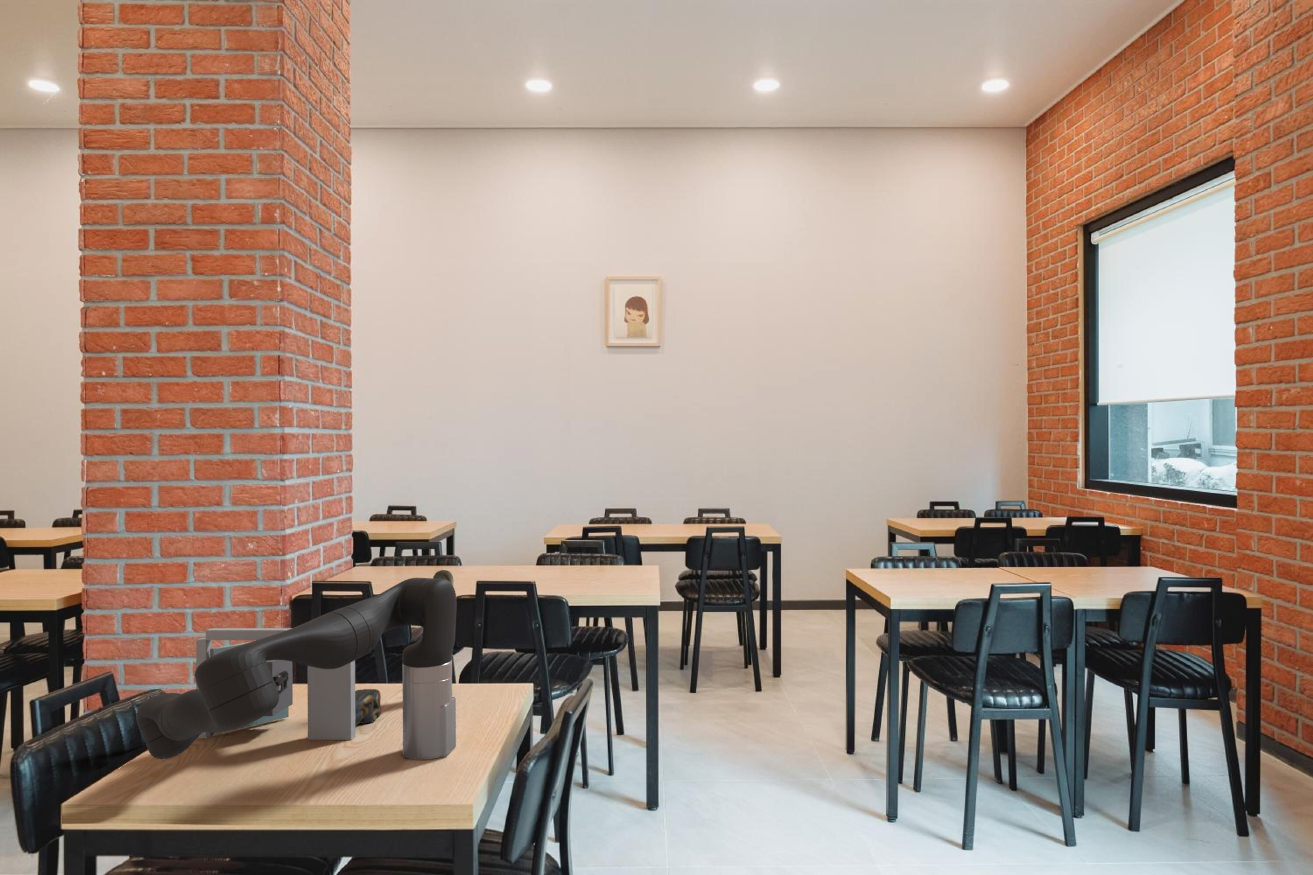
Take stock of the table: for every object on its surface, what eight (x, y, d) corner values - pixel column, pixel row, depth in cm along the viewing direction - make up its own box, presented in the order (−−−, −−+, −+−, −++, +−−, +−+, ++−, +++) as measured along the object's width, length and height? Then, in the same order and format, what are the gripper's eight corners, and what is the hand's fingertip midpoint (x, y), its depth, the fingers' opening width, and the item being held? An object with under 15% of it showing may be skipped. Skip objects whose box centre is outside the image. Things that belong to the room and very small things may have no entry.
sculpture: (361, 735, 165) (361, 701, 166) (329, 735, 165) (329, 701, 166) (383, 715, 178) (383, 683, 179) (354, 715, 179) (354, 684, 179)
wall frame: (355, 736, 164) (354, 628, 165) (350, 739, 162) (350, 630, 163) (202, 734, 167) (202, 628, 167) (196, 738, 165) (196, 630, 165)
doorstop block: (292, 704, 173) (292, 652, 173) (272, 716, 165) (272, 661, 165) (267, 703, 173) (267, 652, 173) (246, 716, 165) (246, 662, 165)
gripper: (187, 718, 153) (239, 693, 170) (260, 718, 152) (305, 693, 169) (187, 678, 153) (239, 657, 170) (260, 678, 153) (305, 657, 169)
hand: (271, 675), depth 170 cm, fingers closed on doorstop block, 5 cm apart
